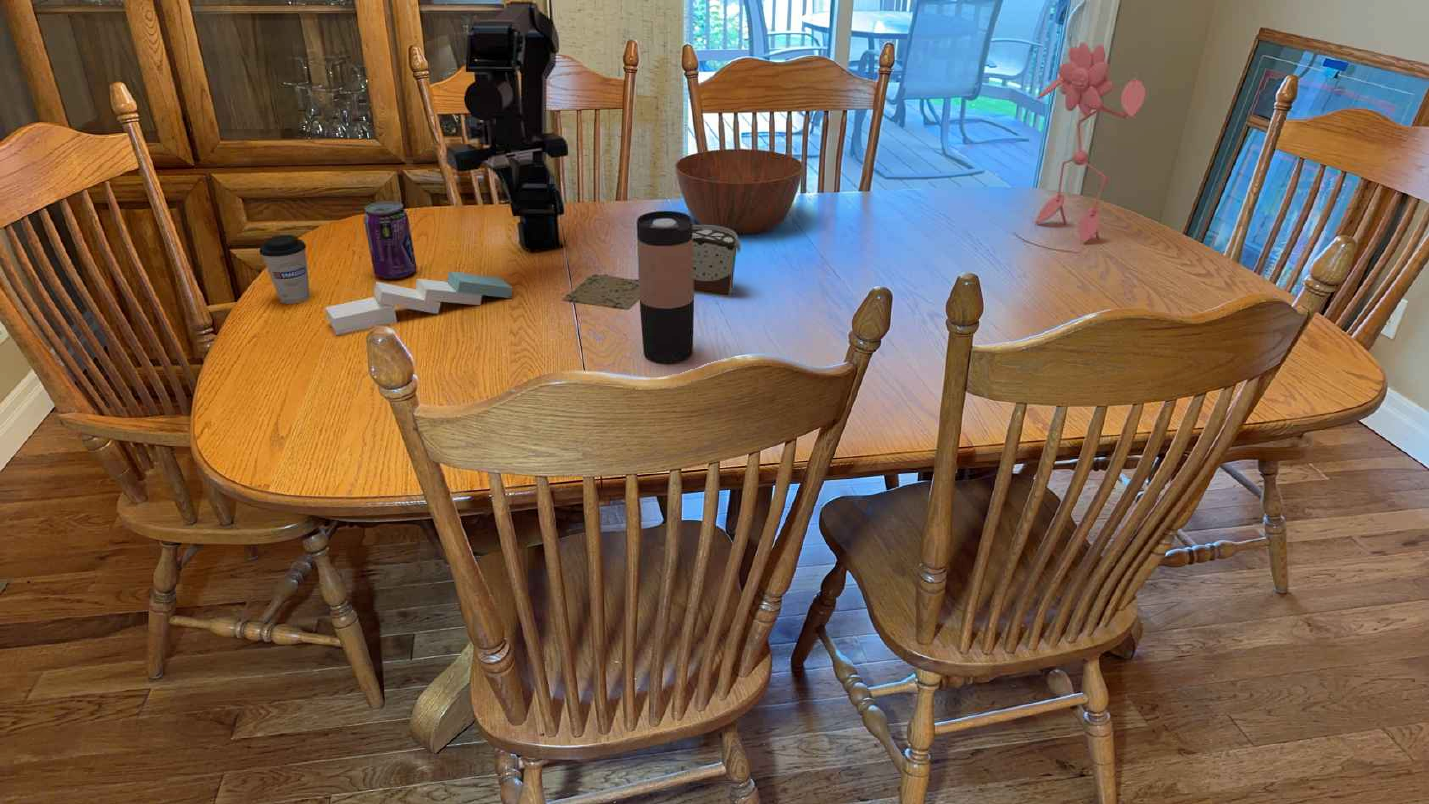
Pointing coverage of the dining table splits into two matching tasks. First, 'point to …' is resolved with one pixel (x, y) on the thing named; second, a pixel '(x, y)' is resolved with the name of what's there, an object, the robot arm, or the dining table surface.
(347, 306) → the domino
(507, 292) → the domino
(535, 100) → the robot arm
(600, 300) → the speckled square tile
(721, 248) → the food container
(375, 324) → the domino
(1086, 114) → the figurine
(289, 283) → the coffee cup
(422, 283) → the domino
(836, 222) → the dining table surface
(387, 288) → the domino
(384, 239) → the beverage can
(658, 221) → the travel mug
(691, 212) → the bowl
